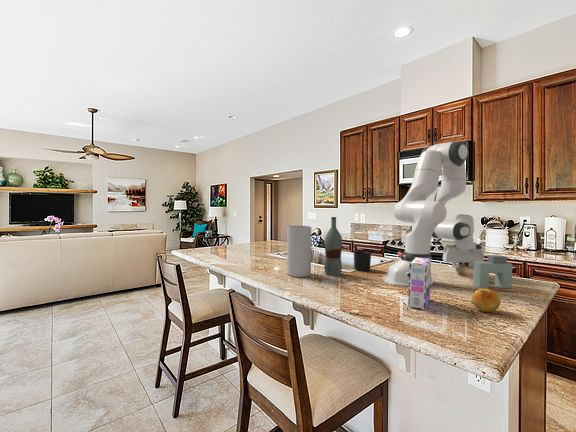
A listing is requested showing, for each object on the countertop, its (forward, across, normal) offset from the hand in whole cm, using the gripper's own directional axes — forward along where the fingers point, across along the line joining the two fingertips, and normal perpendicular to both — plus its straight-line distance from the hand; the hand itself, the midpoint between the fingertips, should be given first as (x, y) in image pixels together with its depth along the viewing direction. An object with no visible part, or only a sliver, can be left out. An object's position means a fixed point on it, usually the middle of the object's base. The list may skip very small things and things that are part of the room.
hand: (462, 270), depth 159 cm
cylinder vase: (+2, -88, -4) cm, 88 cm away
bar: (+2, 0, -8) cm, 8 cm away
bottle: (+2, -70, -2) cm, 70 cm away
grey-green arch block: (+2, 0, -23) cm, 23 cm away
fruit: (+2, -24, -54) cm, 59 cm away
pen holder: (+2, -52, +8) cm, 52 cm away
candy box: (+2, -44, -48) cm, 64 cm away
